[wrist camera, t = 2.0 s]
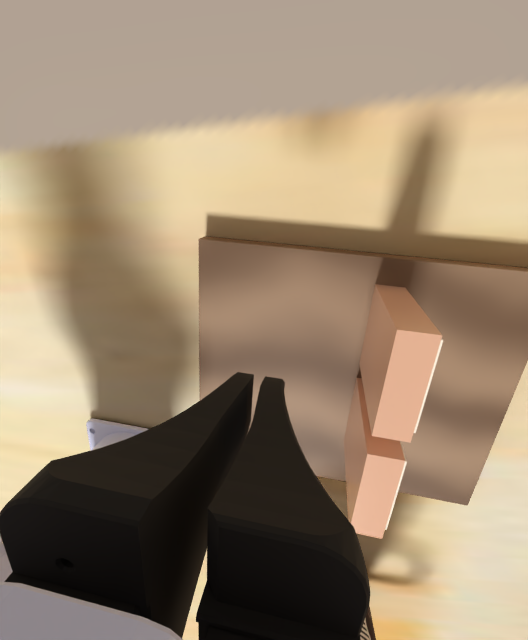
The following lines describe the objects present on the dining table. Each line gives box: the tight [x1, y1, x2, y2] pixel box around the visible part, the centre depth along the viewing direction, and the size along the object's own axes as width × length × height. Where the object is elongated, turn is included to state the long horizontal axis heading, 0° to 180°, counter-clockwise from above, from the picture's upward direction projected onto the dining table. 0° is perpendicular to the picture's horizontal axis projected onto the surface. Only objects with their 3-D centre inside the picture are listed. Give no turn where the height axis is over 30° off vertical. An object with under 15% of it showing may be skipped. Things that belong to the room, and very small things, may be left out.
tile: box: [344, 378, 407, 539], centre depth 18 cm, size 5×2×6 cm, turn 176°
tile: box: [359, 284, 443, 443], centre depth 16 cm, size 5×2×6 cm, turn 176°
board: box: [199, 236, 528, 505], centre depth 21 cm, size 16×19×1 cm
